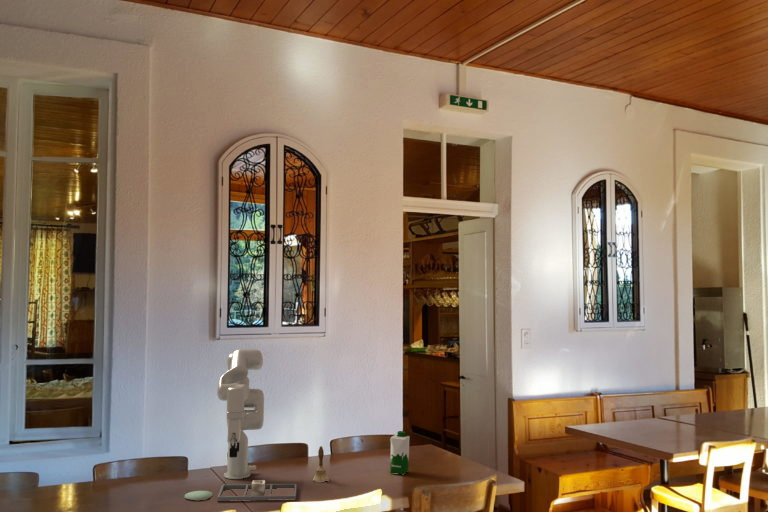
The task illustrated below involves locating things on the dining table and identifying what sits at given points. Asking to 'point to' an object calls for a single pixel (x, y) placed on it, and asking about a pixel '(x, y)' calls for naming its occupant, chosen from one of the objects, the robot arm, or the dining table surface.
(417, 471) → the dining table surface
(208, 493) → the mat
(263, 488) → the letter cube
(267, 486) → the organiser
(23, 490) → the dining table surface
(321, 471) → the hand bell
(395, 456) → the milk carton
